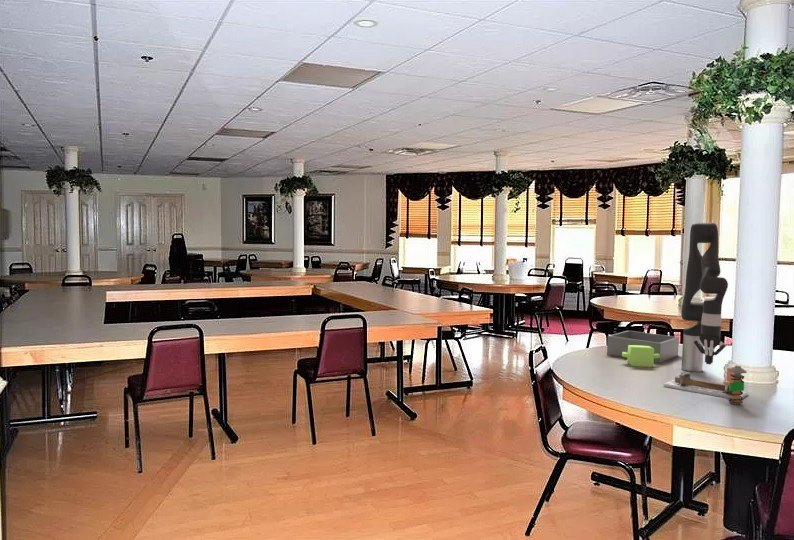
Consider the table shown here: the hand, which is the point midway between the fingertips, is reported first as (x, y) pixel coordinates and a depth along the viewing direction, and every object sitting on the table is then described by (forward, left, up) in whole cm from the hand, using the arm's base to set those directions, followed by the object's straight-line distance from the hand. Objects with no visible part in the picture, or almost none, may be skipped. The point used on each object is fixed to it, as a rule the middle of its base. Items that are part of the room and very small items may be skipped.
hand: (708, 363), depth 271 cm
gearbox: (-29, -39, -11) cm, 50 cm away
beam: (+2, 0, -10) cm, 10 cm away
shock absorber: (+16, +15, -11) cm, 25 cm away
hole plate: (+3, 0, -11) cm, 11 cm away
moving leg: (+2, +9, -9) cm, 13 cm away
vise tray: (-55, -48, -11) cm, 74 cm away
